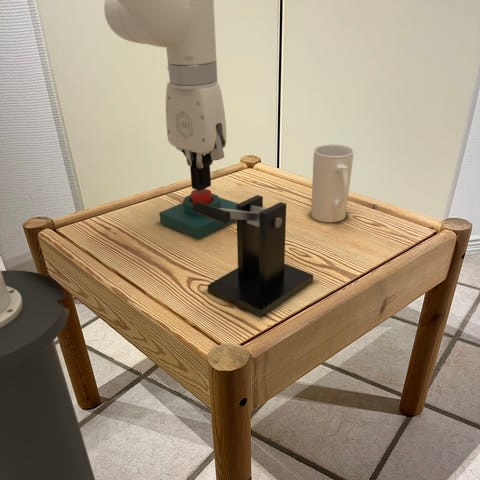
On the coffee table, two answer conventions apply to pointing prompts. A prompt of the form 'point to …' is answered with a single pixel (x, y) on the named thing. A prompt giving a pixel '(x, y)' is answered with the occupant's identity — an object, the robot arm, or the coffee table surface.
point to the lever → (228, 213)
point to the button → (201, 196)
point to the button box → (195, 217)
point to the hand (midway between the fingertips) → (201, 187)
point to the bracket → (261, 263)
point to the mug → (331, 182)
